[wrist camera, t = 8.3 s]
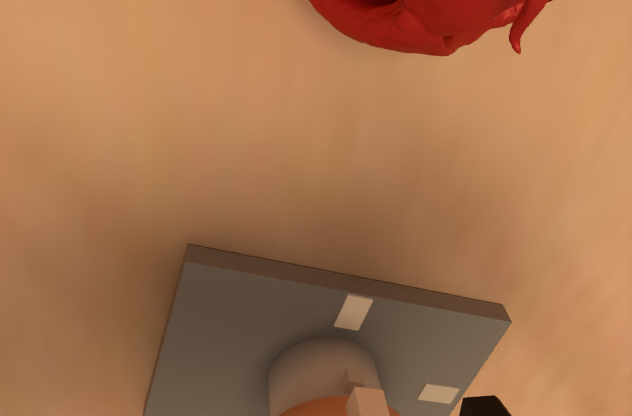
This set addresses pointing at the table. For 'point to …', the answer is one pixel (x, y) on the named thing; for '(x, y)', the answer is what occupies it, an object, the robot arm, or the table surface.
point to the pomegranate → (427, 22)
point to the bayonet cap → (346, 405)
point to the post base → (312, 340)
